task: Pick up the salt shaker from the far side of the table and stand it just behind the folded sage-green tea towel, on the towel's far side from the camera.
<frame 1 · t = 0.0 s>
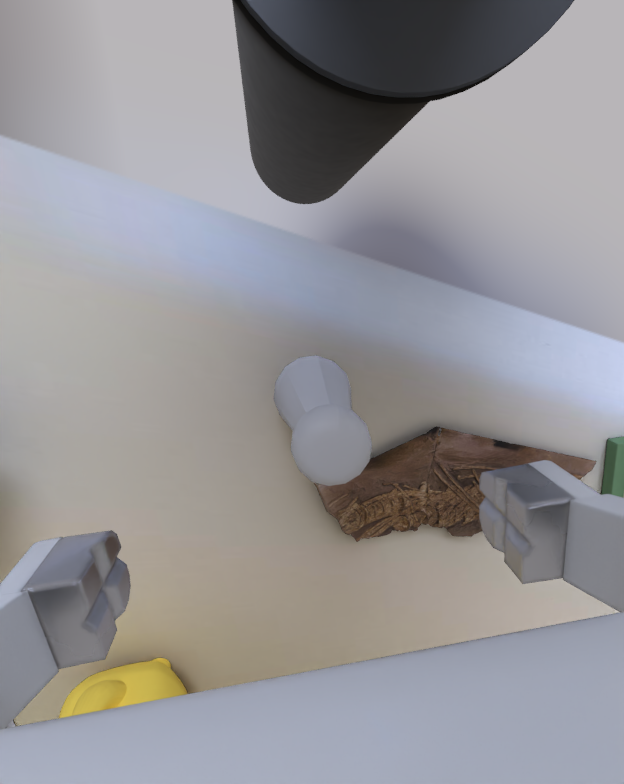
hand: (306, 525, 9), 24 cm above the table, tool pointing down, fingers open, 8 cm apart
teapot: (139, 685, 41), on the table
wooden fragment: (457, 478, 38), on the table
salt shaker: (309, 384, 34), on the table
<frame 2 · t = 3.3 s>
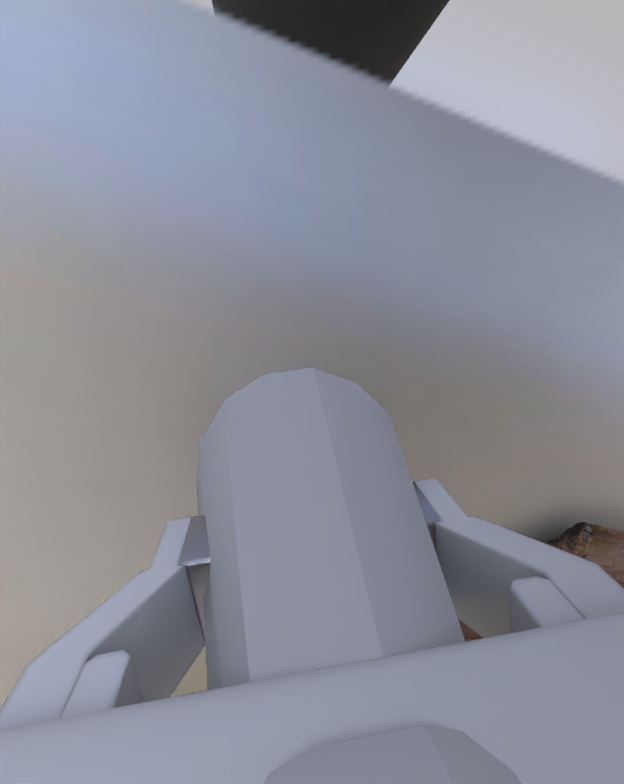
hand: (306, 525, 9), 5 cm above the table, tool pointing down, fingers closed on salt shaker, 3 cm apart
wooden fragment: (602, 615, 18), on the table
salt shaker: (293, 433, 14), on the table, touching gripper
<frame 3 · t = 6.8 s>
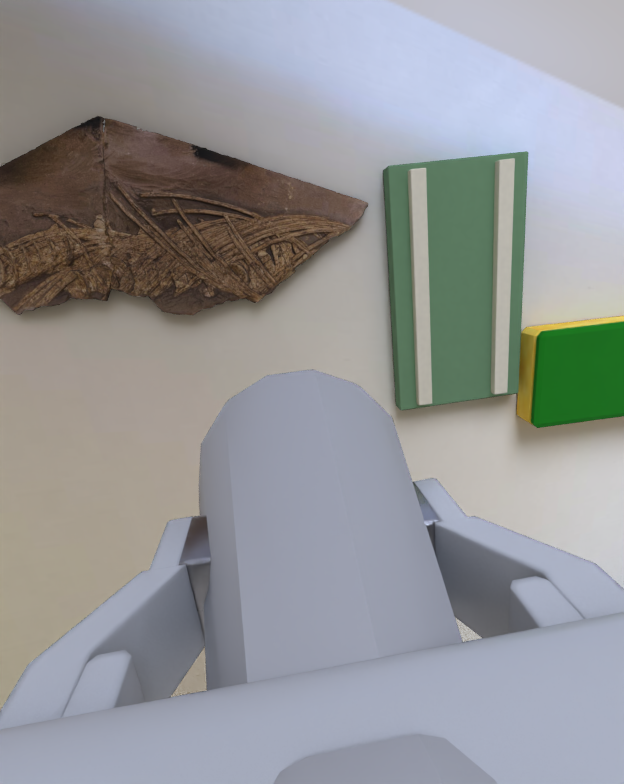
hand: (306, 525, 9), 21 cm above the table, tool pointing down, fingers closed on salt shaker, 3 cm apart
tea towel: (452, 289, 29), on the table
dish sponge: (601, 362, 32), on the table
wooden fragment: (162, 223, 26), on the table
salt shaker: (295, 434, 14), point 16 cm above the table, touching gripper
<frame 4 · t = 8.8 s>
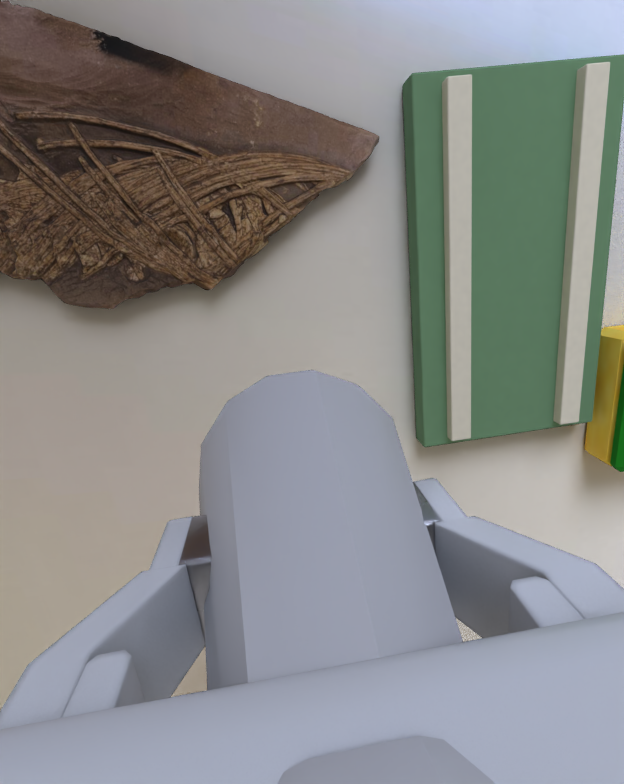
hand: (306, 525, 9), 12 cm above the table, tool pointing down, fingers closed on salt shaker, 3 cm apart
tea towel: (501, 272, 20), on the table
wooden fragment: (59, 166, 17), on the table
salt shaker: (296, 435, 14), point 6 cm above the table, touching gripper
when the fingers open (5 cm above the table, at t = 10.6 s): salt shaker stays where it is, on the table.
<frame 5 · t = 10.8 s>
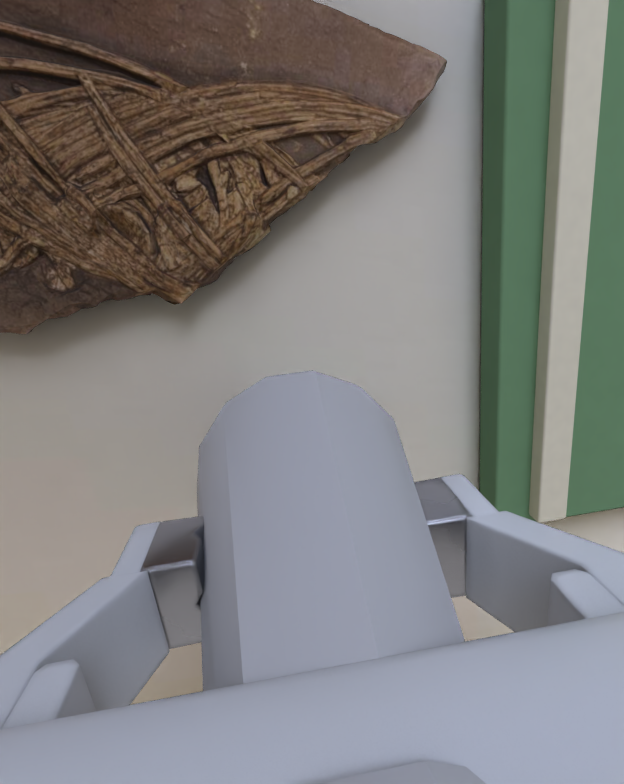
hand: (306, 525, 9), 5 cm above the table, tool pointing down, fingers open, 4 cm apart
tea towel: (613, 276, 14), on the table
salt shaker: (296, 436, 14), on the table
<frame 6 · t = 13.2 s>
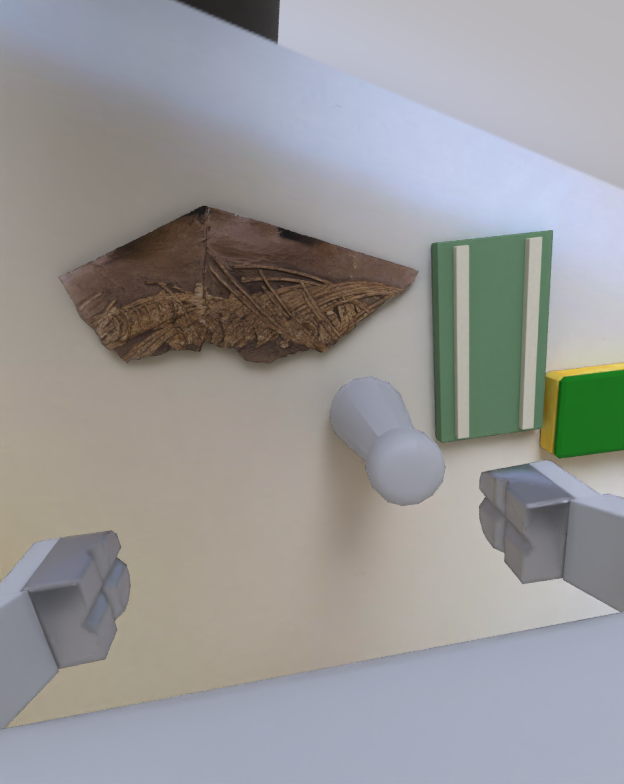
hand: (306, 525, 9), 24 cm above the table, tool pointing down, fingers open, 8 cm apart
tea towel: (486, 340, 34), on the table
dish sponge: (613, 401, 37), on the table
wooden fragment: (247, 287, 31), on the table
salt shaker: (359, 403, 35), on the table
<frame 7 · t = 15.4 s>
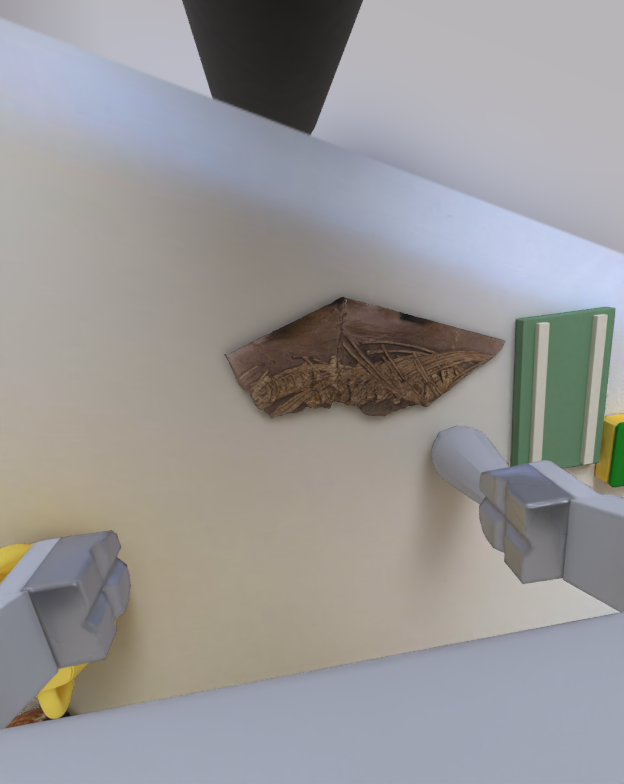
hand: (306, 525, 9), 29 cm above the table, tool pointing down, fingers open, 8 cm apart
teapot: (65, 568, 42), on the table
seashell: (48, 710, 47), on the table
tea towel: (555, 392, 42), on the table
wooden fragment: (368, 356, 39), on the table
salt shaker: (451, 444, 43), on the table
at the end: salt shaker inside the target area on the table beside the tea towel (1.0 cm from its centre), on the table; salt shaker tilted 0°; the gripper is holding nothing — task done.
